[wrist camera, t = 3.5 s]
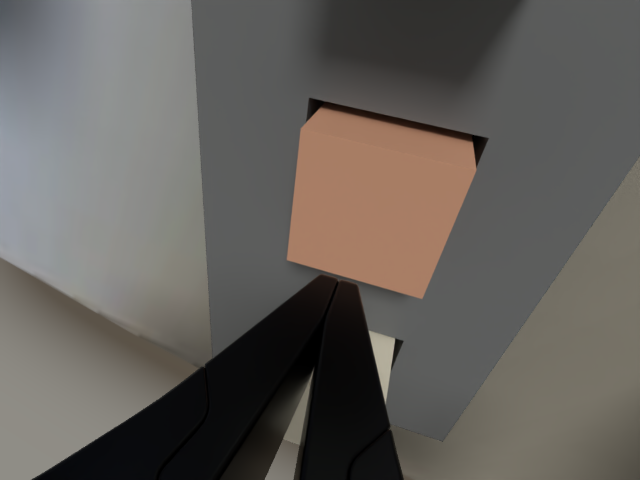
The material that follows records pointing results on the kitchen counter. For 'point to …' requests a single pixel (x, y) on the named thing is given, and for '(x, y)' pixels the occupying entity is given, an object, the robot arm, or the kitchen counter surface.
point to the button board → (429, 108)
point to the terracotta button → (377, 196)
